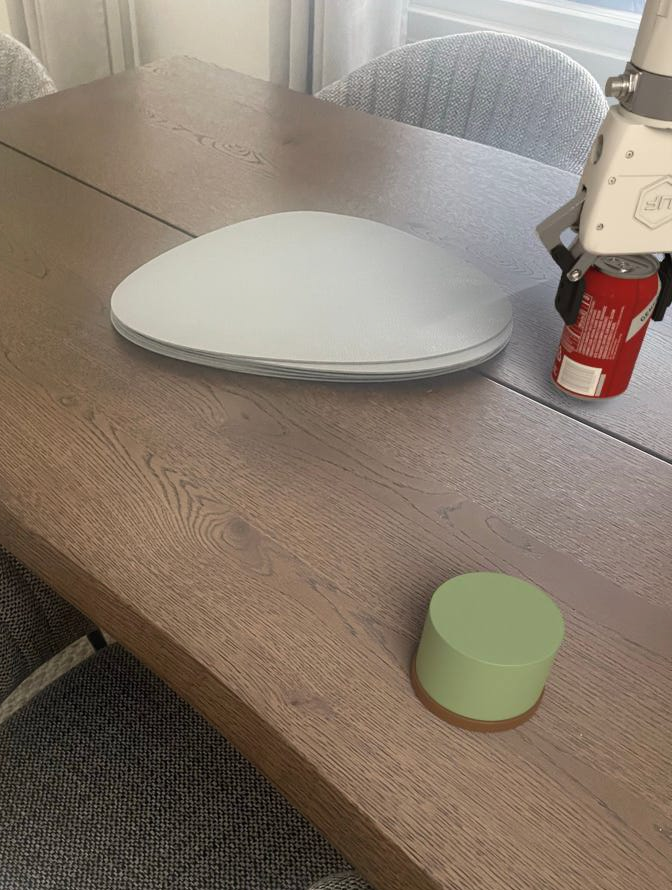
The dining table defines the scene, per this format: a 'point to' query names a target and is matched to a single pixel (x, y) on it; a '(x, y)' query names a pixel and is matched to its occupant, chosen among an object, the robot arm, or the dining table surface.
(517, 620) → the pedestal
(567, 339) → the soda can
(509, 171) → the dining table surface
